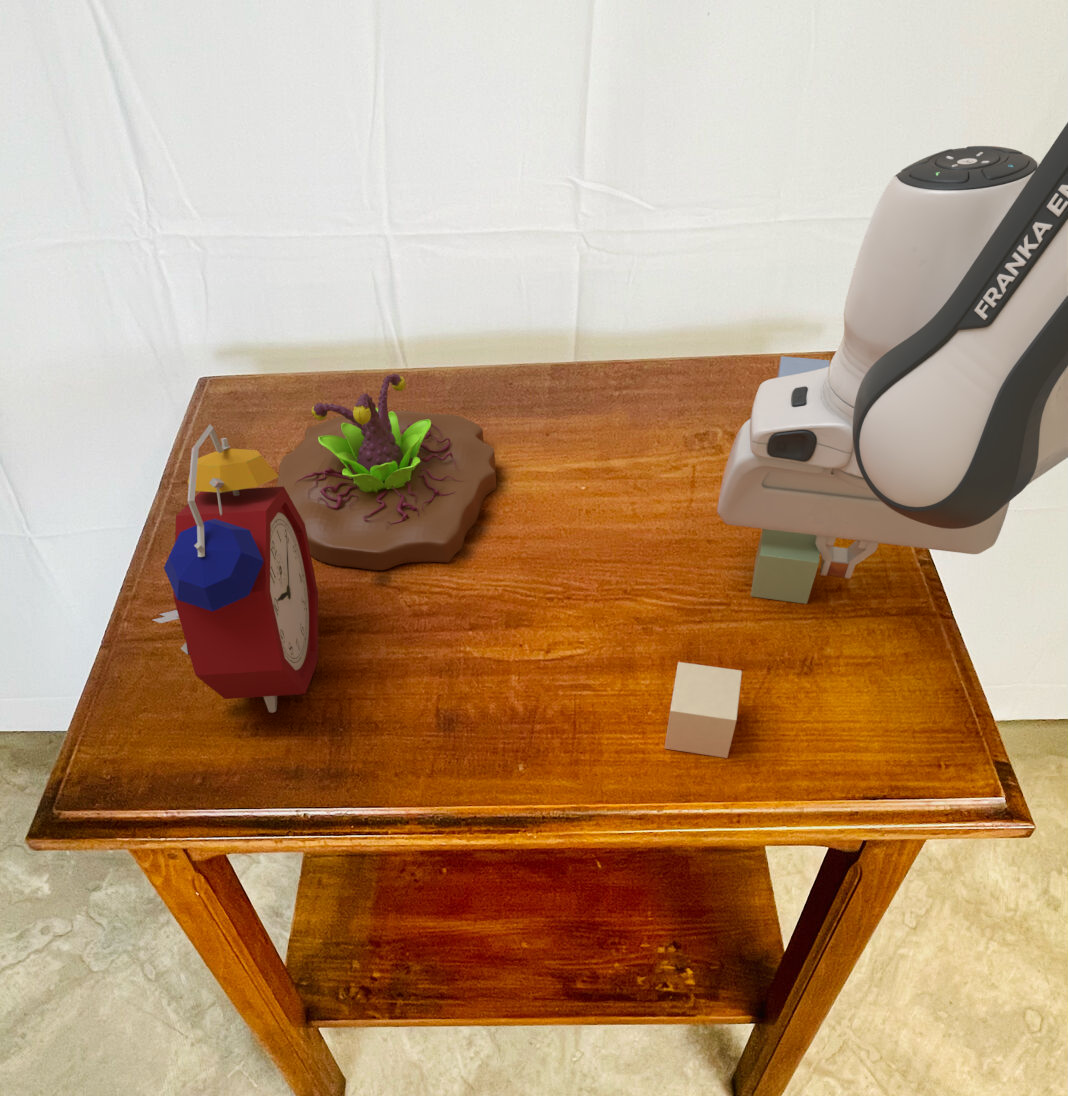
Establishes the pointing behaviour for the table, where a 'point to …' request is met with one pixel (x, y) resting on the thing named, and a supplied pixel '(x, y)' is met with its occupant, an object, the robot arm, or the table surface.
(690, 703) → the cream block
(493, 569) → the table surface
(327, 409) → the plant
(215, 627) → the alarm clock
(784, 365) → the blue-grey block
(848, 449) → the robot arm
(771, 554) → the sage block
